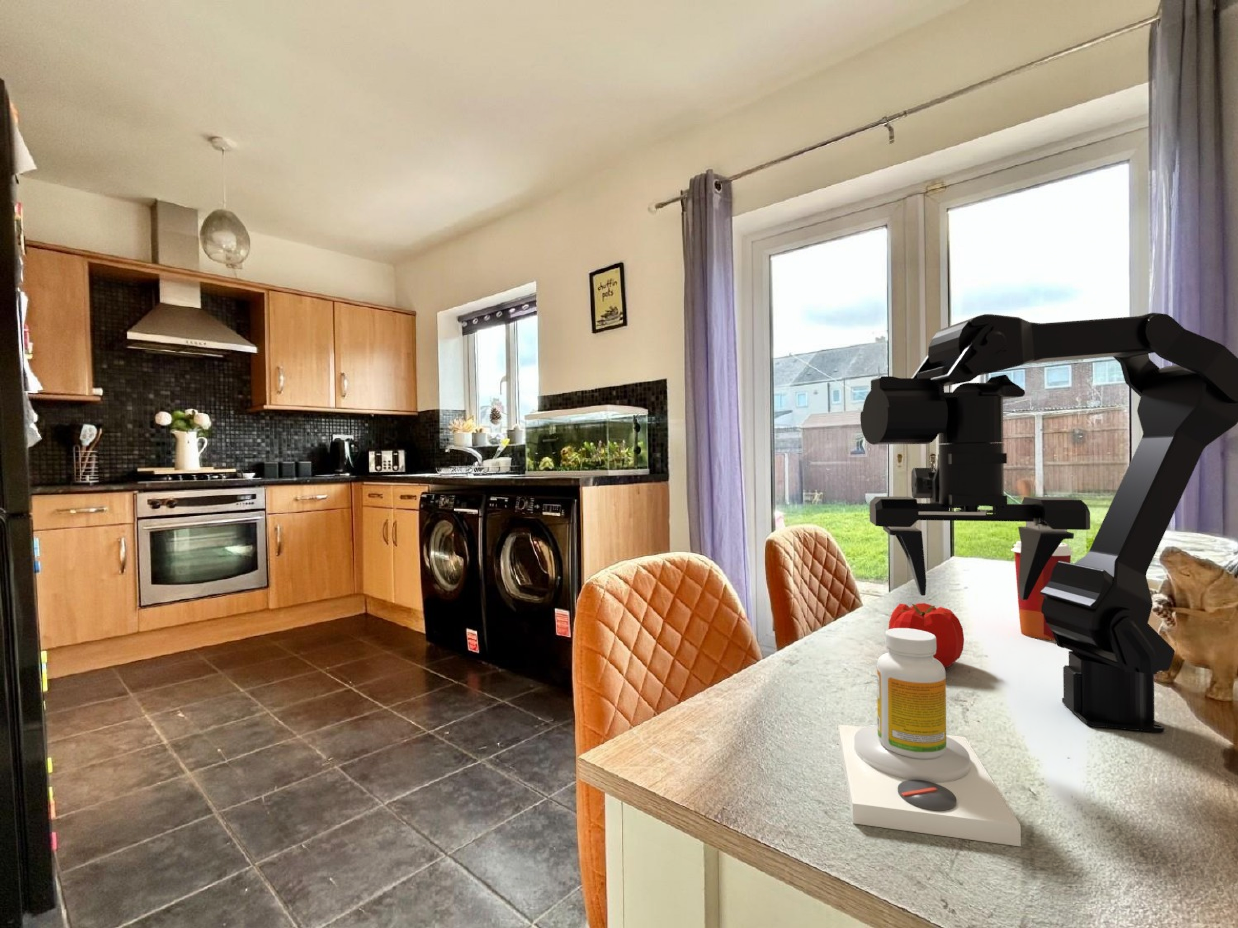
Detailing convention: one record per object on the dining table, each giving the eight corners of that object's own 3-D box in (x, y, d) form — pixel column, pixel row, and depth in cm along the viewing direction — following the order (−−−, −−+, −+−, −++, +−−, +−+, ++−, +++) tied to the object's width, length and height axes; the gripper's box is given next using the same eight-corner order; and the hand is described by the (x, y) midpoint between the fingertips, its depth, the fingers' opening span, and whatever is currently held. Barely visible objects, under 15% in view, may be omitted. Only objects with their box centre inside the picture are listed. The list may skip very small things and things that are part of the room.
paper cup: (1071, 632, 94) (1071, 541, 94) (1076, 645, 87) (1075, 547, 87) (1011, 625, 98) (1010, 538, 98) (1011, 637, 91) (1010, 544, 91)
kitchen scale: (965, 752, 56) (964, 728, 56) (1020, 846, 43) (1020, 813, 43) (838, 739, 59) (838, 716, 59) (852, 823, 45) (852, 792, 45)
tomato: (918, 649, 87) (917, 596, 87) (978, 668, 79) (977, 610, 79) (870, 659, 83) (870, 604, 83) (928, 680, 75) (928, 619, 75)
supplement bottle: (961, 756, 51) (960, 640, 51) (905, 764, 49) (905, 645, 49) (916, 728, 56) (915, 623, 56) (864, 735, 55) (863, 627, 55)
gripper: (1044, 443, 67) (1045, 585, 67) (863, 447, 72) (864, 578, 72) (1092, 441, 56) (1093, 609, 56) (875, 444, 61) (877, 599, 62)
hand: (971, 596), depth 62 cm, fingers open, 9 cm apart
